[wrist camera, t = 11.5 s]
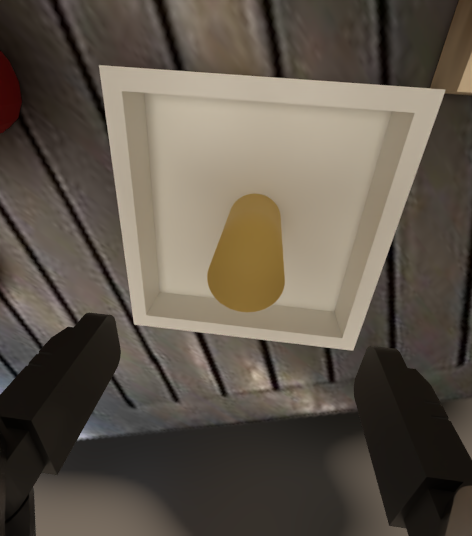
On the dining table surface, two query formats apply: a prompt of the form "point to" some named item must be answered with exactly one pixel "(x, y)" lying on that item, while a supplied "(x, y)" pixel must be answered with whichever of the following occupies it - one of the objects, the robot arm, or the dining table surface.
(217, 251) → the dowel
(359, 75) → the dining table surface
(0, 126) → the plastic cup
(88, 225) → the dining table surface
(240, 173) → the tray
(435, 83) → the socket block
